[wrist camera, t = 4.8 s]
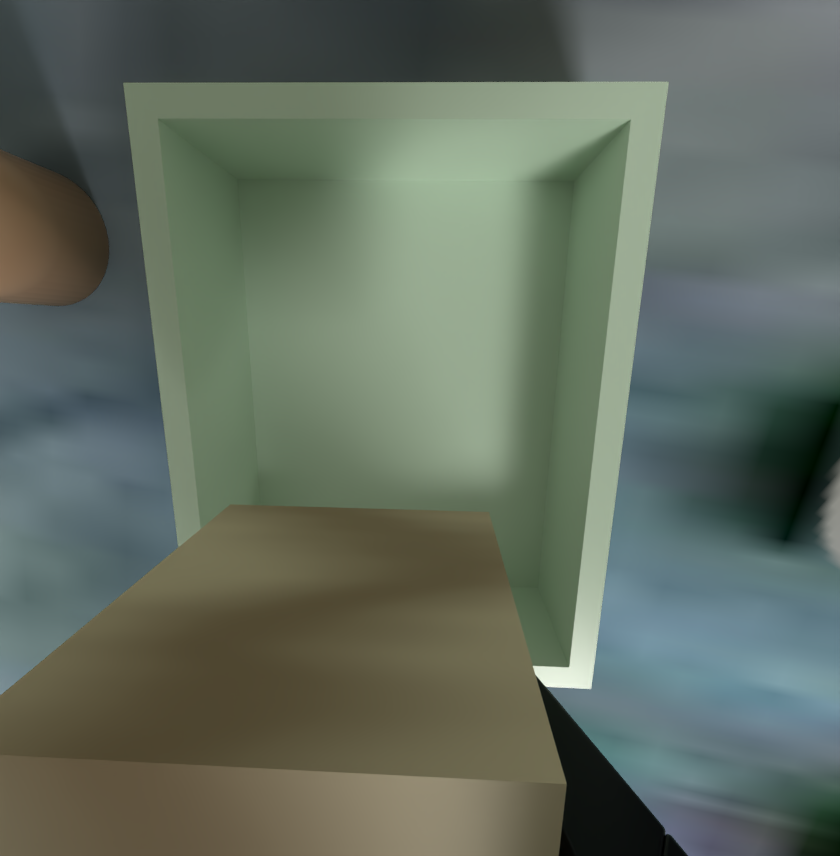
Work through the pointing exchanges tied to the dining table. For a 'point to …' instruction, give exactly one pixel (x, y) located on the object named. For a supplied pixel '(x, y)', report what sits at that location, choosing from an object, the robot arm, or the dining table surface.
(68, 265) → the tan capsule
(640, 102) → the tote
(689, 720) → the dining table surface
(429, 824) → the maple cube
